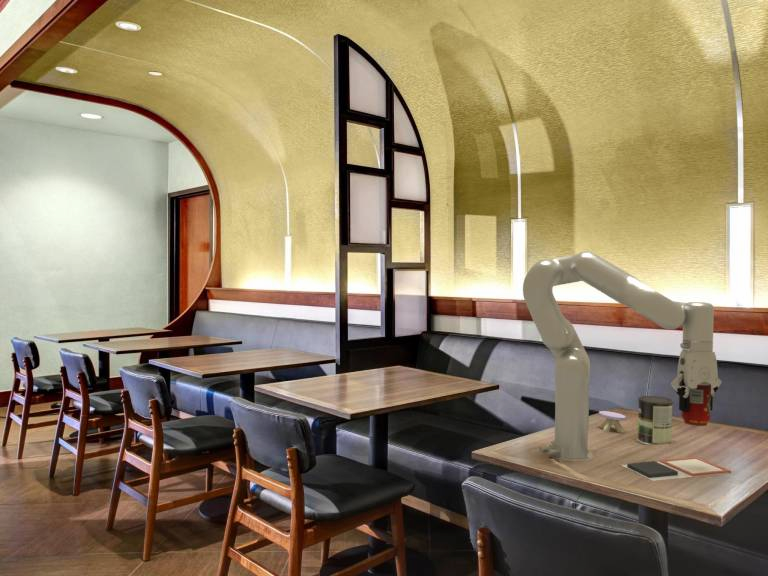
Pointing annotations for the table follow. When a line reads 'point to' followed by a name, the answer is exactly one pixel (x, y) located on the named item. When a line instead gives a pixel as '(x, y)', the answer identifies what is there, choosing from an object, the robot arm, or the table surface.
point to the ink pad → (652, 469)
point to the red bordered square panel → (695, 466)
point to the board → (680, 475)
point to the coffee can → (654, 420)
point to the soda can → (698, 405)
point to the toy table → (612, 421)
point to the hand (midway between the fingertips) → (695, 409)
